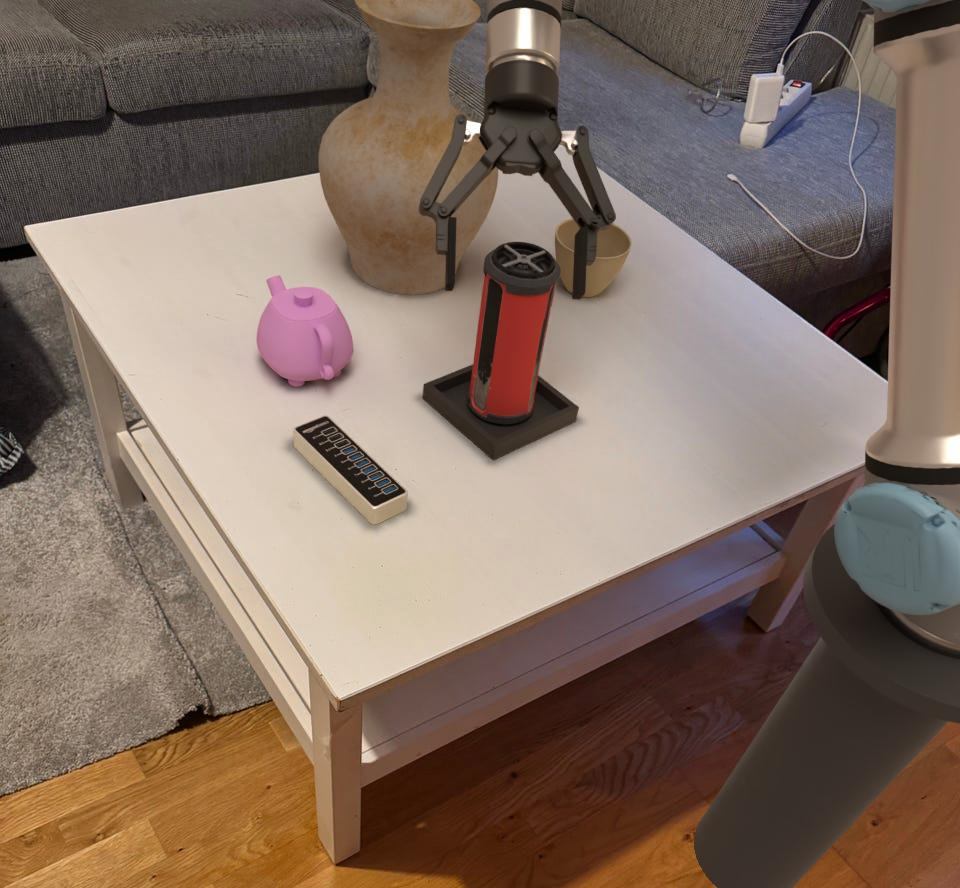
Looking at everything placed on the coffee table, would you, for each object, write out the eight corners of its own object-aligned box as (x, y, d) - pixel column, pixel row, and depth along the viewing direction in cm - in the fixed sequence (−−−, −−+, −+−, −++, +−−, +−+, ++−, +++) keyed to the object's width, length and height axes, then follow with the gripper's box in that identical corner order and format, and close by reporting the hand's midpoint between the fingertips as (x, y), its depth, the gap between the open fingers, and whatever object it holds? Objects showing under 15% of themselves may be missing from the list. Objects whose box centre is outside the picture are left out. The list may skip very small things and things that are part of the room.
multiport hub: (373, 526, 91) (373, 509, 89) (292, 445, 97) (291, 427, 95) (408, 509, 93) (409, 492, 91) (327, 431, 99) (326, 413, 97)
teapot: (288, 410, 100) (284, 335, 93) (234, 336, 107) (226, 261, 100) (373, 387, 104) (375, 314, 97) (315, 317, 112) (313, 244, 104)
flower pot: (534, 271, 124) (543, 220, 119) (598, 264, 127) (610, 214, 122) (564, 312, 119) (575, 260, 113) (631, 304, 122) (645, 253, 116)
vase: (372, 207, 130) (378, -47, 106) (511, 256, 126) (549, 4, 102) (288, 274, 117) (273, 2, 93) (440, 332, 113) (465, 63, 89)
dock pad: (576, 421, 105) (579, 407, 103) (493, 460, 99) (495, 446, 97) (504, 364, 110) (507, 350, 109) (422, 398, 104) (423, 383, 103)
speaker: (452, 398, 104) (469, 248, 90) (503, 377, 108) (527, 229, 94) (496, 436, 101) (520, 286, 87) (547, 412, 104) (578, 265, 90)
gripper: (630, 103, 98) (620, 308, 100) (397, 80, 94) (393, 293, 97) (652, 68, 90) (641, 290, 93) (400, 42, 87) (396, 273, 90)
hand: (514, 292), depth 95 cm, fingers open, 13 cm apart
